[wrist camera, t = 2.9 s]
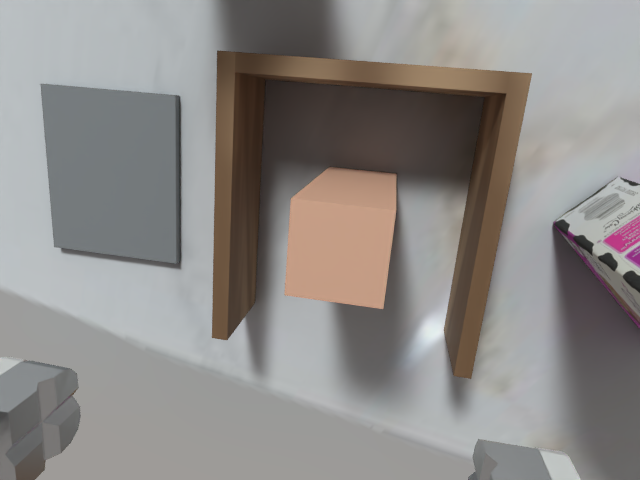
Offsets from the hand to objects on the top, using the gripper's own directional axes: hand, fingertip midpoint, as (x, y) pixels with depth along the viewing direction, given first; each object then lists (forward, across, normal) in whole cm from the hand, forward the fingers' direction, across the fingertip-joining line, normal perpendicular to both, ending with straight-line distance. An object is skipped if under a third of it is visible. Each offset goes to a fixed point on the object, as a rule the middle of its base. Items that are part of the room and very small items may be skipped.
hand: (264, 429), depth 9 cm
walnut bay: (+24, 0, 0) cm, 24 cm away
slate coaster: (+24, +18, 0) cm, 30 cm away
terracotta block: (+24, 0, 0) cm, 24 cm away
